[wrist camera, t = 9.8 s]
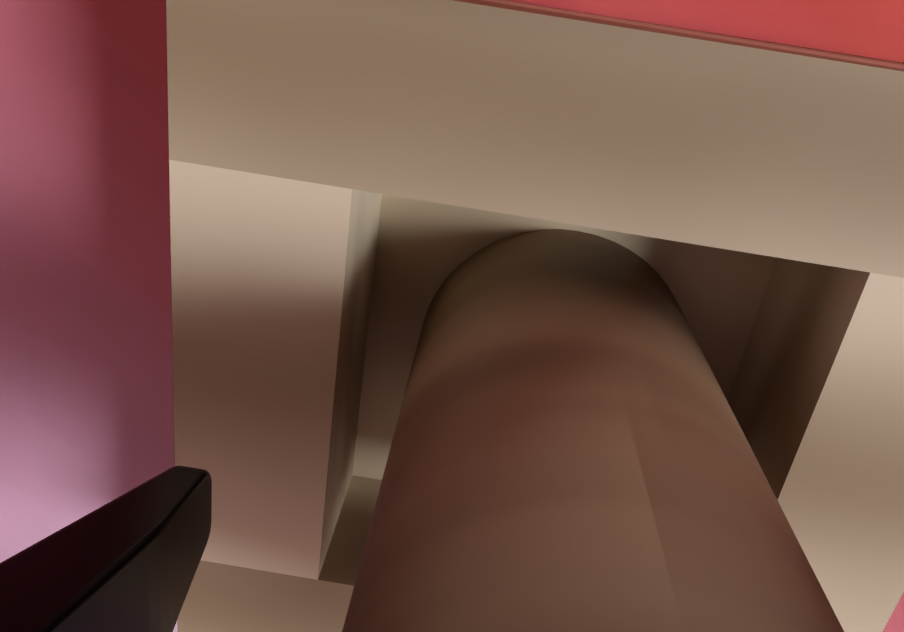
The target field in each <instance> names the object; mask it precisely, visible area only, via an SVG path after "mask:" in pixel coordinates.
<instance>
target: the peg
mask: <svg viewBox="0 0 904 632" xmlns="http://www.w3.org/2000/svg"><path fill="white" fill-rule="evenodd" d="M342 632H844V630H843V628H842V626H841V624H840V622H839V620H838V619H837V617H836V615H835V613H834V611H833V609H832V607H831V605H830V603H829V601H828V599H827V597H826V595H825V593H824V591H823V589H822V587H821V585H820V583H819V581H818V579H817V577H816V575H815V573H814V571H813V569H812V567H811V565H810V563H809V561H808V559H807V557H806V555H805V553H804V551H803V550H802V548H801V546H800V544H799V542H798V540H797V538H796V536H795V534H794V532H793V530H792V528H791V526H790V524H789V522H788V520H787V518H786V516H785V514H784V512H783V510H782V508H781V506H780V504H779V502H778V500H777V498H776V496H775V494H774V492H773V490H772V488H771V486H770V484H769V482H768V481H767V479H766V477H765V475H764V473H763V471H762V469H761V467H760V465H759V463H758V461H757V459H756V457H755V455H754V453H753V451H752V449H751V447H750V445H749V443H748V441H747V439H746V437H745V435H744V433H743V431H742V429H741V427H740V425H739V423H738V421H737V419H736V417H735V415H734V414H733V412H732V410H731V408H730V406H729V404H728V402H727V400H726V398H725V396H724V394H723V392H722V390H721V388H720V386H719V384H718V382H717V380H716V378H715V376H714V374H713V372H712V370H711V368H710V366H709V364H708V362H707V360H706V358H705V356H704V354H703V352H702V350H701V348H700V346H699V345H698V343H697V341H696V339H695V337H694V335H693V333H692V331H691V329H690V327H689V325H688V323H687V321H686V319H685V317H684V315H683V313H682V311H681V309H680V307H679V305H678V303H677V301H676V299H675V297H674V296H673V294H672V292H671V291H670V289H669V287H668V285H667V284H666V283H665V281H664V280H663V279H662V278H661V276H660V275H659V274H658V273H657V272H656V271H655V270H654V269H653V268H652V267H651V266H650V265H649V264H648V263H647V262H646V261H645V260H644V259H642V258H641V257H639V256H638V255H637V254H635V253H634V252H632V251H631V250H629V249H627V248H626V247H624V246H622V245H620V244H618V243H616V242H614V241H611V240H609V239H606V238H603V237H600V236H598V235H594V234H589V233H585V232H580V231H572V230H562V229H555V230H538V231H531V232H525V233H520V234H517V235H513V236H510V237H506V238H504V239H501V240H499V241H497V242H494V243H492V244H490V245H488V246H486V247H484V248H483V249H481V250H479V251H477V252H476V253H474V254H473V255H471V256H470V257H469V258H467V259H466V260H465V261H464V262H462V263H461V264H460V265H459V266H458V267H457V268H456V269H455V270H454V271H453V272H452V273H451V274H450V275H449V276H448V277H447V278H446V280H445V281H444V282H443V284H442V285H441V286H440V288H439V289H438V290H437V292H436V294H435V296H434V298H433V299H432V301H431V303H430V305H429V308H428V311H427V313H426V316H425V319H424V322H423V326H422V330H421V334H420V337H419V341H418V345H417V349H416V353H415V356H414V360H413V364H412V368H411V372H410V375H409V379H408V383H407V387H406V391H405V394H404V398H403V402H402V406H401V410H400V413H399V417H398V421H397V425H396V429H395V432H394V436H393V440H392V444H391V448H390V451H389V455H388V459H387V463H386V467H385V470H384V474H383V478H382V482H381V486H380V489H379V493H378V497H377V501H376V505H375V508H374V512H373V516H372V520H371V524H370V528H369V531H368V535H367V539H366V543H365V547H364V550H363V554H362V558H361V562H360V566H359V569H358V573H357V577H356V581H355V585H354V588H353V592H352V596H351V600H350V604H349V607H348V611H347V615H346V619H345V623H344V626H343V630H342Z"/></svg>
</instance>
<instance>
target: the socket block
mask: <svg viewBox="0 0 904 632" xmlns="http://www.w3.org/2000/svg"><path fill="white" fill-rule="evenodd" d="M166 21H167V75H168V129H169V183H170V237H171V291H172V345H173V399H174V453H175V466H187V467H193V468H199V469H205V470H207V471H208V472H209V473H210V475H211V479H212V522H211V531H210V535H209V539H208V542H207V545H206V547H205V550H204V553H203V555H202V558H201V560H200V563H199V565H198V568H197V570H196V573H195V575H194V578H193V581H192V583H191V586H190V588H189V591H188V593H187V596H186V598H185V601H184V603H183V606H182V609H181V611H180V614H179V616H178V632H342V630H343V626H344V623H345V619H346V615H347V611H348V607H349V604H350V600H351V596H352V592H353V588H354V585H355V581H356V577H357V573H358V569H359V566H360V562H361V558H362V554H363V550H364V547H365V543H366V539H367V535H368V531H369V528H370V524H371V520H372V516H373V512H374V508H375V505H376V501H377V497H378V493H379V489H380V486H381V482H382V478H383V474H384V470H385V467H386V463H387V459H388V455H389V451H390V448H391V444H392V440H393V436H394V432H395V429H396V425H397V421H398V417H399V413H400V410H401V406H402V402H403V398H404V394H405V391H406V387H407V383H408V379H409V375H410V372H411V368H412V364H413V360H414V356H415V353H416V349H417V345H418V341H419V337H420V334H421V330H422V326H423V322H424V319H425V316H426V313H427V311H428V308H429V305H430V303H431V301H432V299H433V298H434V296H435V294H436V292H437V290H438V289H439V288H440V286H441V285H442V284H443V282H444V281H445V280H446V278H447V277H448V276H449V275H450V274H451V273H452V272H453V271H454V270H455V269H456V268H457V267H458V266H459V265H460V264H461V263H462V262H464V261H465V260H466V259H467V258H469V257H470V256H471V255H473V254H474V253H476V252H477V251H479V250H481V249H483V248H484V247H486V246H488V245H490V244H492V243H494V242H497V241H499V240H501V239H504V238H506V237H510V236H513V235H517V234H520V233H525V232H531V231H538V230H555V229H562V230H572V231H580V232H585V233H589V234H594V235H598V236H600V237H603V238H606V239H609V240H611V241H614V242H616V243H618V244H620V245H622V246H624V247H626V248H627V249H629V250H631V251H632V252H634V253H635V254H637V255H638V256H639V257H641V258H642V259H644V260H645V261H646V262H647V263H648V264H649V265H650V266H651V267H652V268H653V269H654V270H655V271H656V272H657V273H658V274H659V275H660V276H661V278H662V279H663V280H664V281H665V283H666V284H667V285H668V287H669V289H670V291H671V292H672V294H673V296H674V297H675V299H676V301H677V303H678V305H679V307H680V309H681V311H682V313H683V315H684V317H685V319H686V321H687V323H688V325H689V327H690V329H691V331H692V333H693V335H694V337H695V339H696V341H697V343H698V345H699V346H700V348H701V350H702V352H703V354H704V356H705V358H706V360H707V362H708V364H709V366H710V368H711V370H712V372H713V374H714V376H715V378H716V380H717V382H718V384H719V386H720V388H721V390H722V392H723V394H724V396H725V398H726V400H727V402H728V404H729V406H730V408H731V410H732V412H733V414H734V415H735V417H736V419H737V421H738V423H739V425H740V427H741V429H742V431H743V433H744V435H745V437H746V439H747V441H748V443H749V445H750V447H751V449H752V451H753V453H754V455H755V457H756V459H757V461H758V463H759V465H760V467H761V469H762V471H763V473H764V475H765V477H766V479H767V481H768V482H769V484H770V486H771V488H772V490H773V492H774V494H775V496H776V498H777V500H778V502H779V504H780V506H781V508H782V510H783V512H784V514H785V516H786V518H787V520H788V522H789V524H790V526H791V528H792V530H793V532H794V534H795V536H796V538H797V540H798V542H799V544H800V546H801V548H802V550H803V551H804V553H805V555H806V557H807V559H808V561H809V563H810V565H811V567H812V569H813V571H814V573H815V575H816V577H817V579H818V581H819V583H820V585H821V587H822V589H823V591H824V593H825V595H826V597H827V599H828V601H829V603H830V605H831V607H832V609H833V611H834V613H835V615H836V617H837V619H838V620H839V622H840V624H841V626H842V628H843V630H844V632H883V630H884V628H885V626H886V624H887V622H888V620H889V618H890V617H891V615H892V613H893V611H894V609H895V607H896V605H897V603H898V602H899V600H900V598H901V596H902V594H903V592H904V63H900V62H894V61H887V60H881V59H875V58H868V57H862V56H856V55H849V54H843V53H837V52H830V51H824V50H818V49H811V48H805V47H798V46H792V45H786V44H779V43H773V42H767V41H760V40H754V39H748V38H741V37H735V36H729V35H722V34H716V33H710V32H703V31H697V30H691V29H684V28H678V27H672V26H665V25H659V24H652V23H646V22H640V21H633V20H627V19H621V18H614V17H608V16H602V15H595V14H589V13H583V12H576V11H570V10H564V9H557V8H551V7H545V6H538V5H532V4H525V3H519V2H513V1H506V0H166Z"/></svg>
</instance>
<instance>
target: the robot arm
mask: <svg viewBox="0 0 904 632" xmlns="http://www.w3.org/2000/svg"><path fill="white" fill-rule="evenodd" d="M211 522H212V479H211V475H210V473H209V472H208V471H207V470H205V469H199V468H193V467H187V466H175V467H172V468H170V469H168V470H166V471H165V472H163V473H161V474H159V475H158V476H156V477H154V478H152V479H150V480H149V481H147V482H145V483H143V484H141V485H140V486H138V487H136V488H134V489H132V490H131V491H129V492H127V493H125V494H123V495H122V496H120V497H118V498H116V499H114V500H113V501H111V502H109V503H107V504H105V505H104V506H102V507H100V508H98V509H96V510H95V511H93V512H91V513H89V514H88V515H86V516H84V517H82V518H80V519H79V520H77V521H75V522H73V523H71V524H70V525H68V526H66V527H64V528H62V529H61V530H59V531H57V532H55V533H53V534H52V535H50V536H48V537H46V538H44V539H43V540H41V541H39V542H37V543H35V544H34V545H32V546H30V547H28V548H27V549H25V550H23V551H21V552H19V553H18V554H16V555H14V556H12V557H10V558H9V559H7V560H5V561H3V562H1V563H0V632H172V631H173V629H174V626H175V624H176V621H177V619H178V616H179V614H180V611H181V609H182V606H183V603H184V601H185V598H186V596H187V593H188V591H189V588H190V586H191V583H192V581H193V578H194V575H195V573H196V570H197V568H198V565H199V563H200V560H201V558H202V555H203V553H204V550H205V547H206V545H207V542H208V539H209V535H210V531H211Z"/></svg>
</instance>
